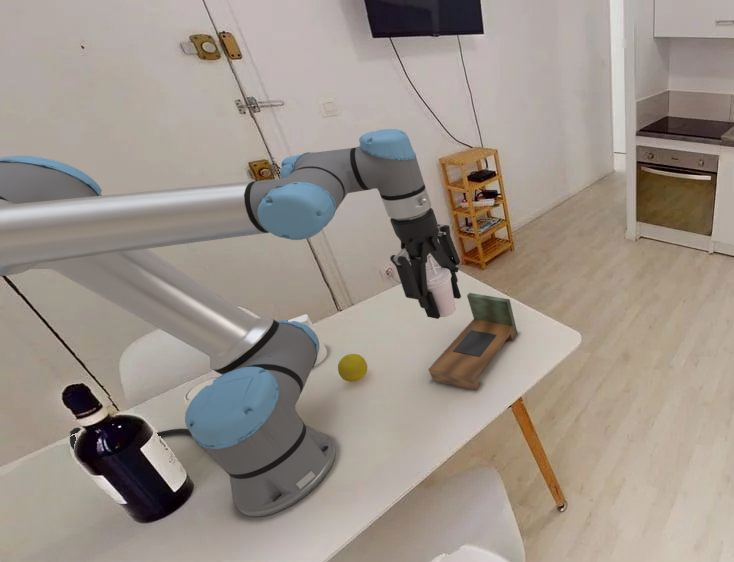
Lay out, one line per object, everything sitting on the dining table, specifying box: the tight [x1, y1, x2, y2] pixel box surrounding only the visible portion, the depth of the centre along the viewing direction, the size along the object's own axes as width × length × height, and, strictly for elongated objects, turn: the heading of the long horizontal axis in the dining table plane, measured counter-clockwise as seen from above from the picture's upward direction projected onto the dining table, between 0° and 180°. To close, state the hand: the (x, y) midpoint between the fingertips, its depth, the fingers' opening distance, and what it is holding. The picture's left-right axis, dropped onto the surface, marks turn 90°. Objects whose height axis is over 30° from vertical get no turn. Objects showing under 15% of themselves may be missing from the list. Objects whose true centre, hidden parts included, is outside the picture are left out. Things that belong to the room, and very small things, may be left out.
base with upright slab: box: [287, 313, 328, 368], centre depth 102 cm, size 9×9×12 cm
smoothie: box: [426, 255, 457, 318], centre depth 86 cm, size 6×6×14 cm
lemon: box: [337, 353, 368, 383], centre depth 97 cm, size 6×6×8 cm
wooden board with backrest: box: [428, 292, 518, 391], centre depth 102 cm, size 12×19×12 cm, turn 165°
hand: (444, 306), depth 89 cm, fingers closed on smoothie, 6 cm apart
